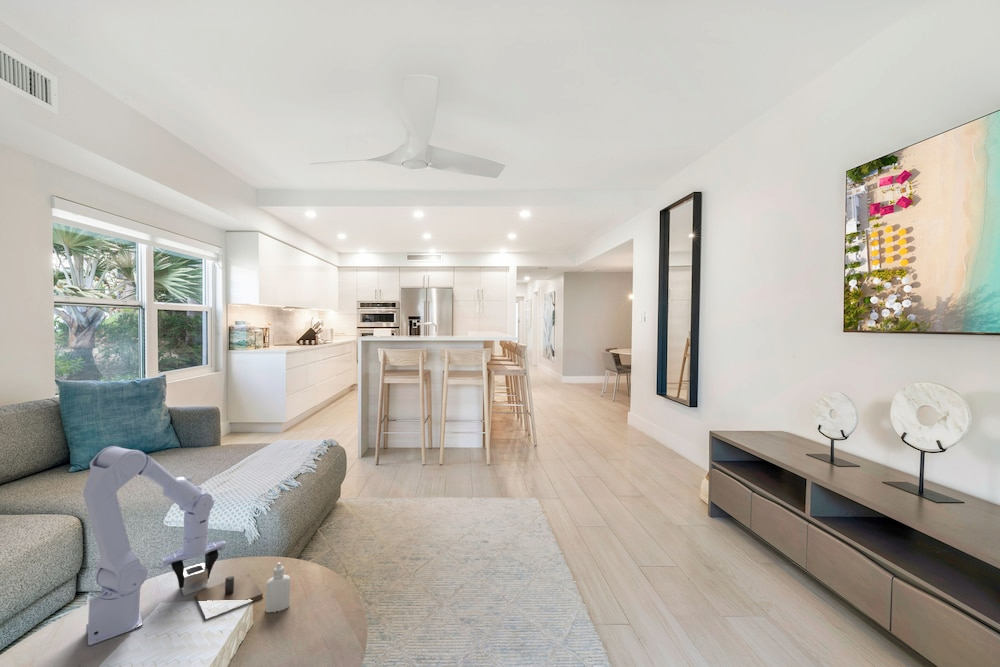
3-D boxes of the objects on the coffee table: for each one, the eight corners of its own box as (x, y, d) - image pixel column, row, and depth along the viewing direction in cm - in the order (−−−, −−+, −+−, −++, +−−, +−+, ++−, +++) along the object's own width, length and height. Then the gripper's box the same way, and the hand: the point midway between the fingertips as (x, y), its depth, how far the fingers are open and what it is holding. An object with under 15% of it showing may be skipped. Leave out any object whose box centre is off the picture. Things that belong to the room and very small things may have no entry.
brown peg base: (205, 620, 104) (206, 599, 104) (195, 596, 113) (196, 577, 113) (262, 597, 114) (263, 578, 114) (248, 578, 123) (249, 560, 123)
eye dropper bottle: (272, 602, 112) (273, 558, 112) (292, 603, 111) (293, 559, 112) (262, 613, 107) (263, 567, 107) (283, 614, 107) (284, 568, 107)
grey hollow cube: (183, 595, 114) (184, 577, 114) (180, 587, 117) (181, 569, 117) (207, 587, 117) (207, 569, 118) (203, 579, 121) (203, 562, 121)
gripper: (222, 522, 126) (220, 567, 125) (161, 537, 115) (159, 586, 115) (228, 530, 121) (226, 576, 121) (165, 547, 110) (163, 598, 110)
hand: (194, 582), depth 117 cm, fingers closed on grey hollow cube, 5 cm apart
